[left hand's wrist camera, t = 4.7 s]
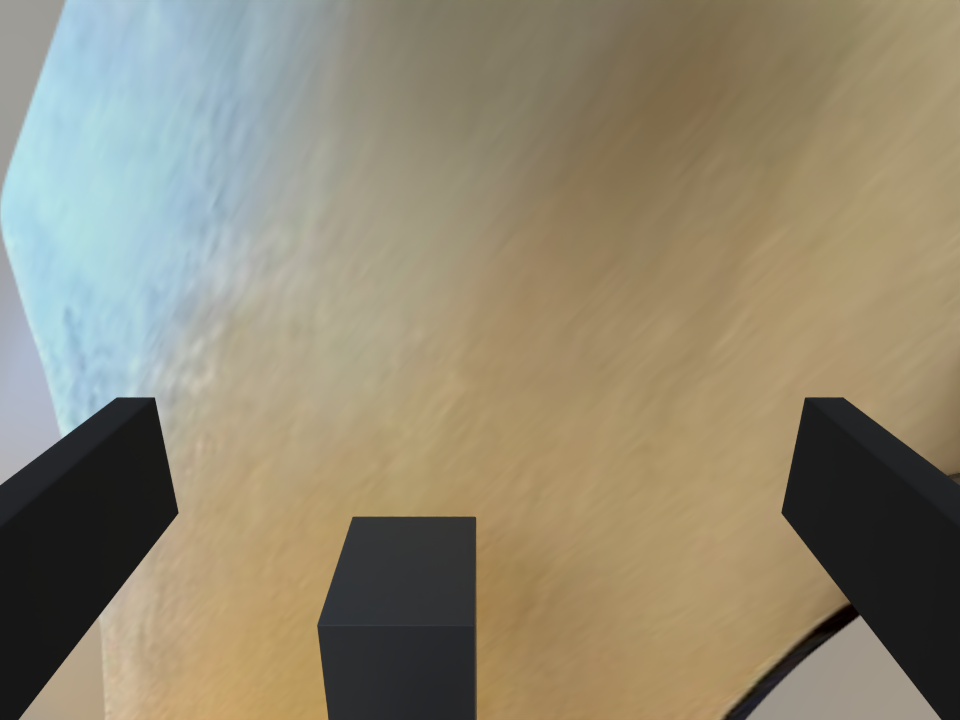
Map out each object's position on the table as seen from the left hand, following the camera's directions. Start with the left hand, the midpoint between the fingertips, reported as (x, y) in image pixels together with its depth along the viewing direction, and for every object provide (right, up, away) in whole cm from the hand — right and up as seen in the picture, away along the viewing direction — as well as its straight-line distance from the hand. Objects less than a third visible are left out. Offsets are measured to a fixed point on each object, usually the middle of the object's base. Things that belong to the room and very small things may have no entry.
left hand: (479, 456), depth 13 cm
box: (-4, -19, +28) cm, 34 cm away
